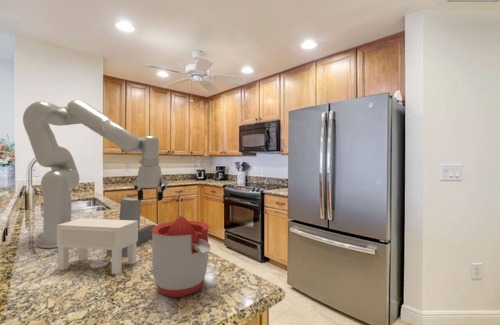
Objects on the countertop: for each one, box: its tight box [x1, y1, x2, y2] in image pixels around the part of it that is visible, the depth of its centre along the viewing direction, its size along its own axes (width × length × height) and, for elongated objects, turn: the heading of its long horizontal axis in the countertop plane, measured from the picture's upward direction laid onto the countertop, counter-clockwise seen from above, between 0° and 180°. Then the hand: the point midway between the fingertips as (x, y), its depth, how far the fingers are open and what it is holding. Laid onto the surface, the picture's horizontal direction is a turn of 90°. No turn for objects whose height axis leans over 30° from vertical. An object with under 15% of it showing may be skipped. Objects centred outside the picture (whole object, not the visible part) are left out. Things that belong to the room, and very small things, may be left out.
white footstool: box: [56, 217, 139, 275], centre depth 85 cm, size 22×10×14 cm, turn 82°
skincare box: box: [118, 197, 142, 229], centre depth 133 cm, size 8×7×16 cm
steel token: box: [89, 259, 108, 270], centre depth 85 cm, size 5×5×2 cm
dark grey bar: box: [106, 224, 156, 258], centre depth 107 cm, size 8×26×6 cm, turn 172°
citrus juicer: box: [151, 215, 211, 298], centre depth 70 cm, size 16×17×20 cm
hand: (150, 200), depth 117 cm, fingers open, 9 cm apart
